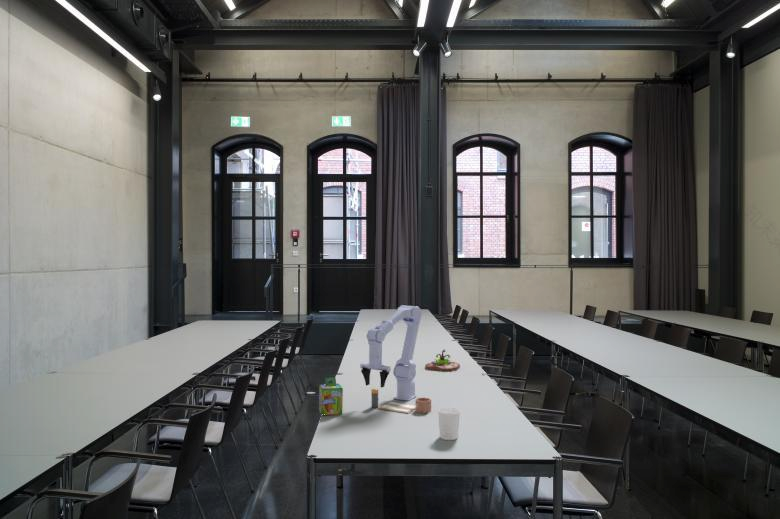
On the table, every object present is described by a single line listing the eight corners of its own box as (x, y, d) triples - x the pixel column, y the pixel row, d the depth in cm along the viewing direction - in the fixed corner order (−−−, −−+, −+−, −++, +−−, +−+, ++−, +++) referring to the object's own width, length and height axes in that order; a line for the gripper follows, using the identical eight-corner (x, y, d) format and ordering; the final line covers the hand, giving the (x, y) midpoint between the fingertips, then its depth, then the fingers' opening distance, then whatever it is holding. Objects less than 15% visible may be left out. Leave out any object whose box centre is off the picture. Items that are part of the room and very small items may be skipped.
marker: (373, 405, 246) (373, 388, 246) (379, 406, 245) (379, 389, 244) (370, 407, 243) (370, 389, 243) (376, 408, 242) (376, 390, 242)
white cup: (457, 433, 208) (457, 407, 208) (461, 440, 200) (461, 413, 200) (437, 434, 208) (437, 407, 208) (439, 441, 200) (439, 414, 200)
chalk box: (321, 416, 230) (321, 381, 230) (318, 410, 239) (318, 376, 239) (343, 414, 232) (343, 380, 232) (339, 408, 241) (339, 375, 241)
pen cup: (419, 408, 243) (419, 396, 243) (432, 410, 240) (432, 398, 240) (413, 411, 237) (413, 400, 237) (427, 413, 234) (427, 402, 234)
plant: (464, 367, 332) (464, 349, 332) (451, 373, 316) (451, 354, 316) (435, 363, 343) (435, 346, 343) (420, 369, 326) (420, 350, 326)
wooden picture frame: (390, 402, 252) (390, 401, 252) (419, 406, 245) (419, 405, 245) (377, 409, 241) (377, 407, 241) (408, 413, 234) (408, 412, 234)
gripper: (357, 355, 244) (356, 385, 244) (385, 358, 237) (385, 389, 237) (364, 353, 250) (364, 382, 250) (393, 356, 243) (392, 386, 243)
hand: (375, 385), depth 244 cm, fingers open, 7 cm apart
